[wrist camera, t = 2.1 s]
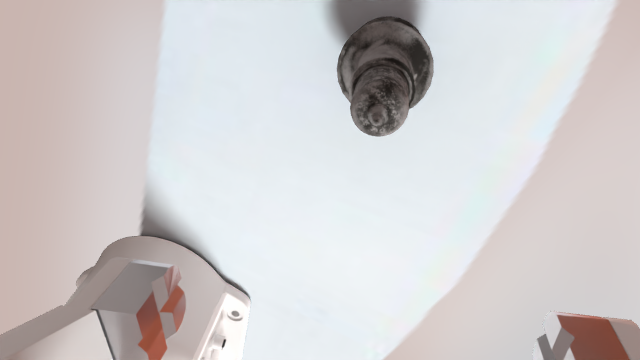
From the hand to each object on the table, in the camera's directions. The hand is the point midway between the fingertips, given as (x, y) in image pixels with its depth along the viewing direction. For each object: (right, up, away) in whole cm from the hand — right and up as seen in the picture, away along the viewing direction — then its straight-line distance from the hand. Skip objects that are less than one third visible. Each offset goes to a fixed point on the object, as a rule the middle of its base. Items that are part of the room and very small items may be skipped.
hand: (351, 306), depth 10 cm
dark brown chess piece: (+4, +11, +20) cm, 23 cm away
